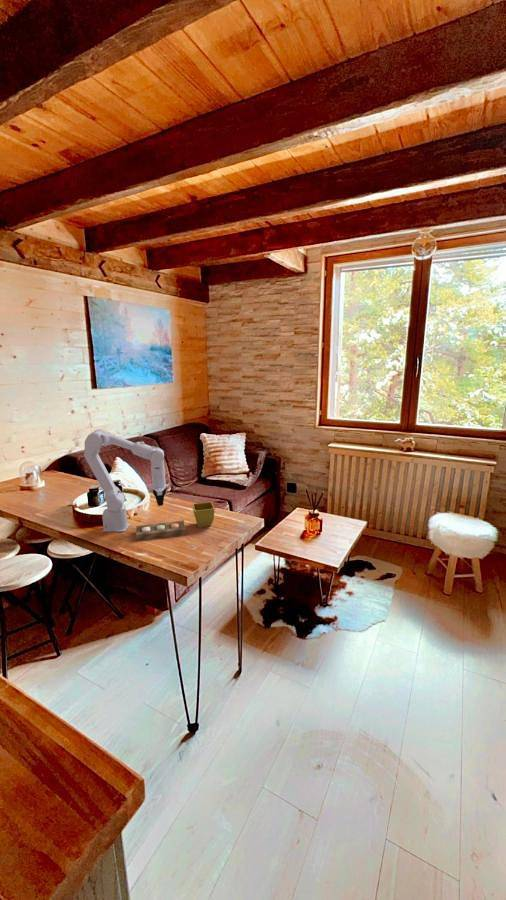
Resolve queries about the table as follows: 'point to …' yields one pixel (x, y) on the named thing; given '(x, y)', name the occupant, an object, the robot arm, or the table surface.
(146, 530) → the cream button
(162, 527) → the sage button
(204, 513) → the flower pot
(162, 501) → the robot arm
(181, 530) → the button board
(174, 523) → the orange button
